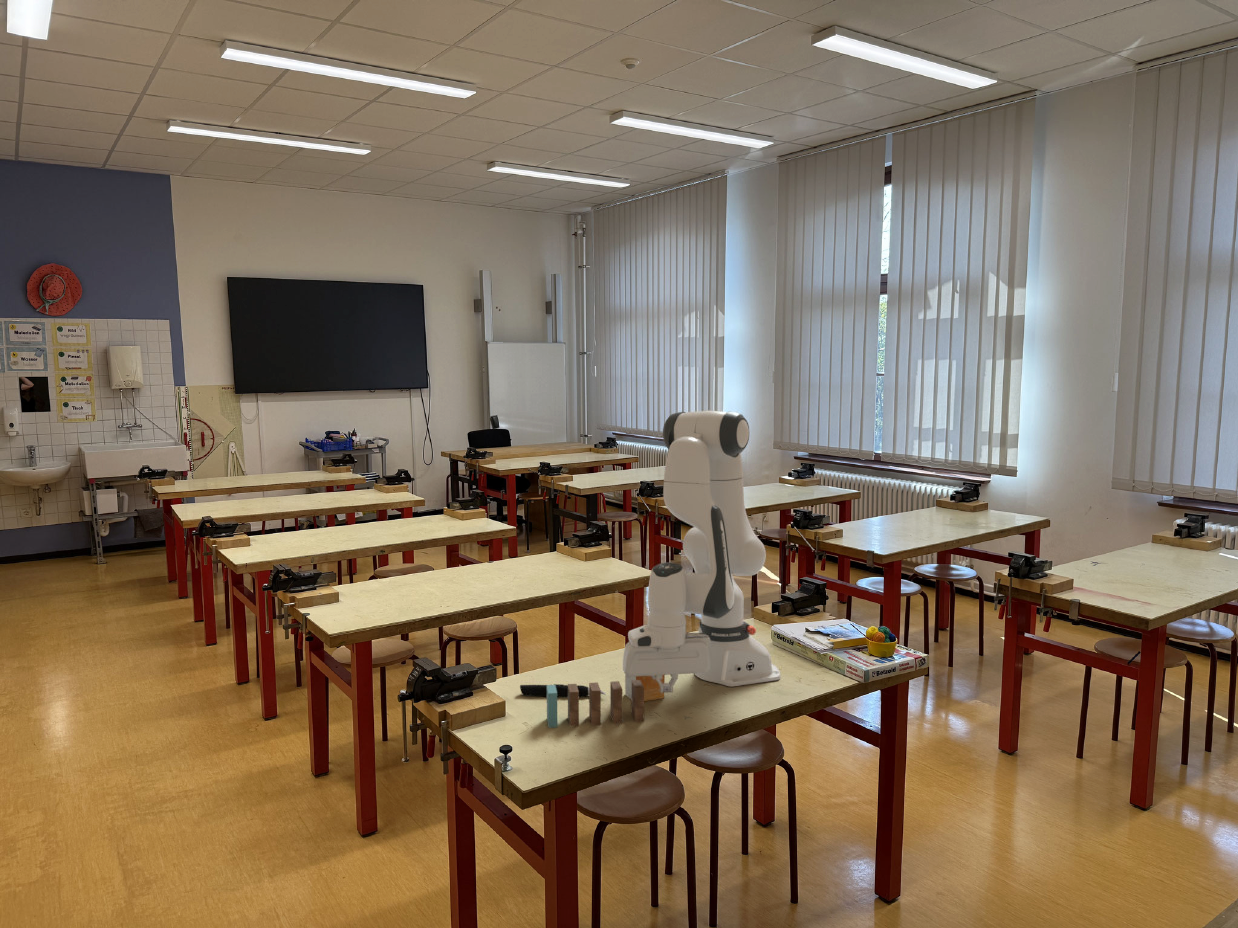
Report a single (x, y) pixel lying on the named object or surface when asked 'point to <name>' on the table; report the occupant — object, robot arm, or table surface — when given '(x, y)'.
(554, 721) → the domino
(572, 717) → the domino
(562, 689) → the utility knife
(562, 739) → the table surface
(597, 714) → the domino
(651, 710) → the table surface
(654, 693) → the small box
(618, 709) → the domino
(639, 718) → the domino
